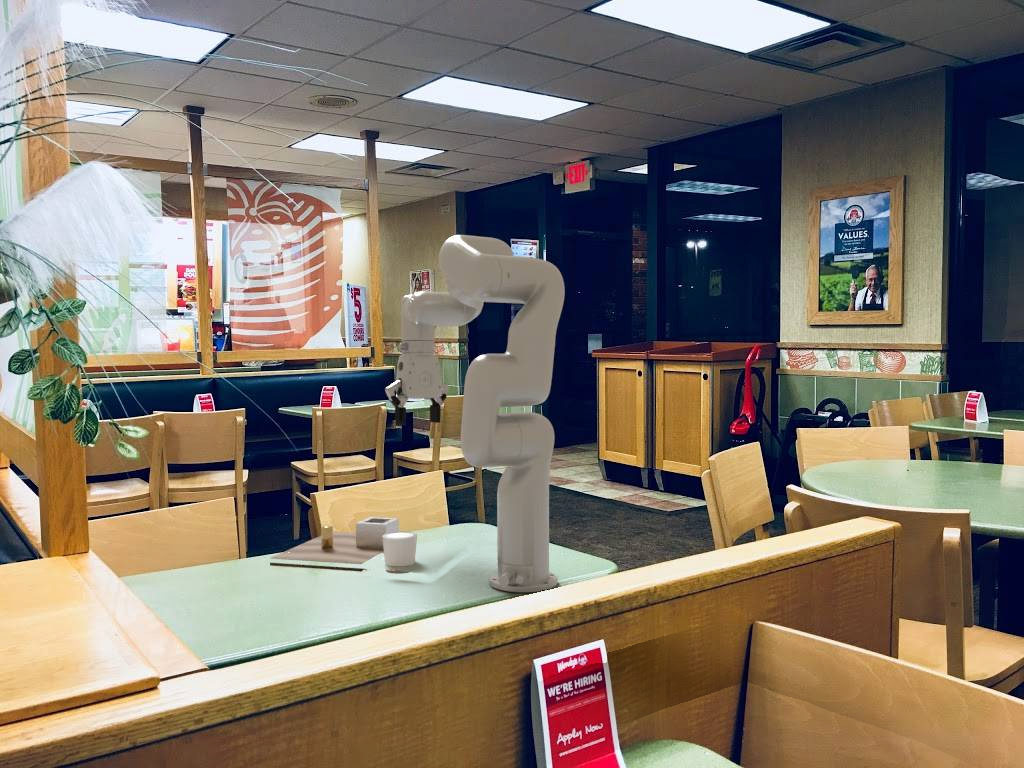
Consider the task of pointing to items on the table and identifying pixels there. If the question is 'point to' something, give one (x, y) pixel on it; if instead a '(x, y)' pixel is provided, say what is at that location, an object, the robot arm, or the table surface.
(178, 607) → the table surface
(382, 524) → the small white box
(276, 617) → the table surface
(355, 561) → the brown flat slab
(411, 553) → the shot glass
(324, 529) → the post
